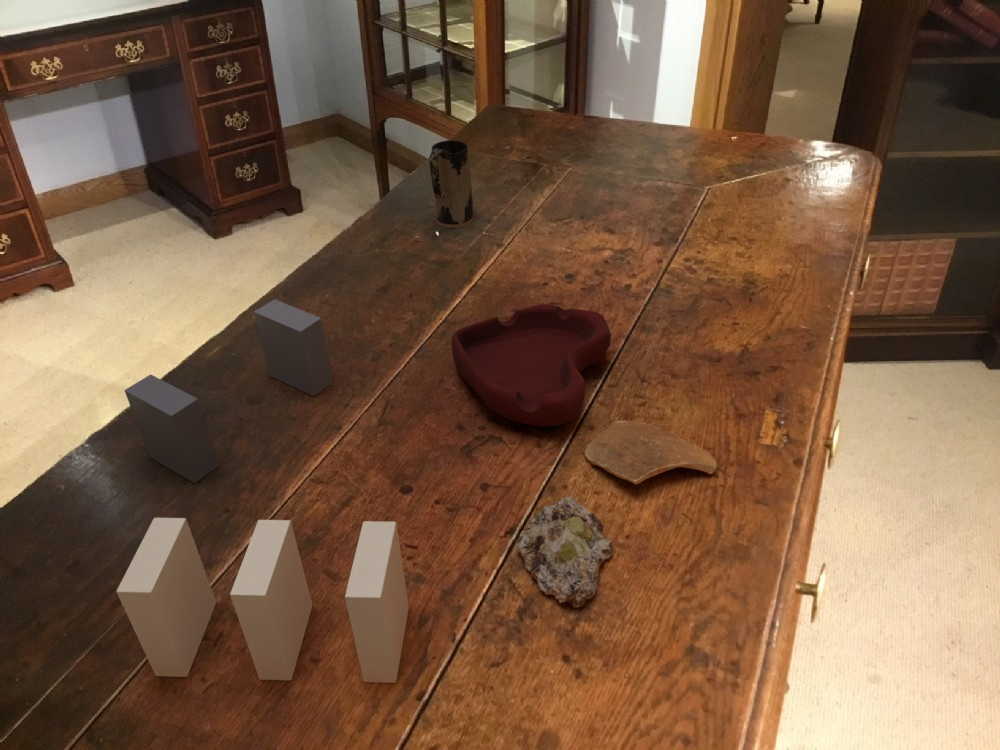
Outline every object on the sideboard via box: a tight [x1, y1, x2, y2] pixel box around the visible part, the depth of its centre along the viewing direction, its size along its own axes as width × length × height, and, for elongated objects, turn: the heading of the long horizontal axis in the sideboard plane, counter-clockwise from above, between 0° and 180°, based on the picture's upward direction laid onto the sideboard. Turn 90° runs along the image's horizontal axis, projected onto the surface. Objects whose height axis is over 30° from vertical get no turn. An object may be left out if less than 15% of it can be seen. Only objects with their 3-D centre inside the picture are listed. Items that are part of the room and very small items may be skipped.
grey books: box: [124, 298, 334, 484], centre depth 87 cm, size 7×19×8 cm, turn 145°
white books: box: [115, 517, 410, 684], centre depth 64 cm, size 18×7×10 cm, turn 87°
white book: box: [229, 519, 313, 681], centre depth 64 cm, size 7×2×10 cm, turn 177°
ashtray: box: [451, 303, 612, 433], centre depth 91 cm, size 18×16×5 cm
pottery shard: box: [584, 420, 717, 486], centre depth 81 cm, size 10×9×2 cm
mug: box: [428, 139, 474, 229], centre depth 120 cm, size 8×6×12 cm
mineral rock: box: [515, 496, 614, 609], centre depth 72 cm, size 11×4×8 cm
